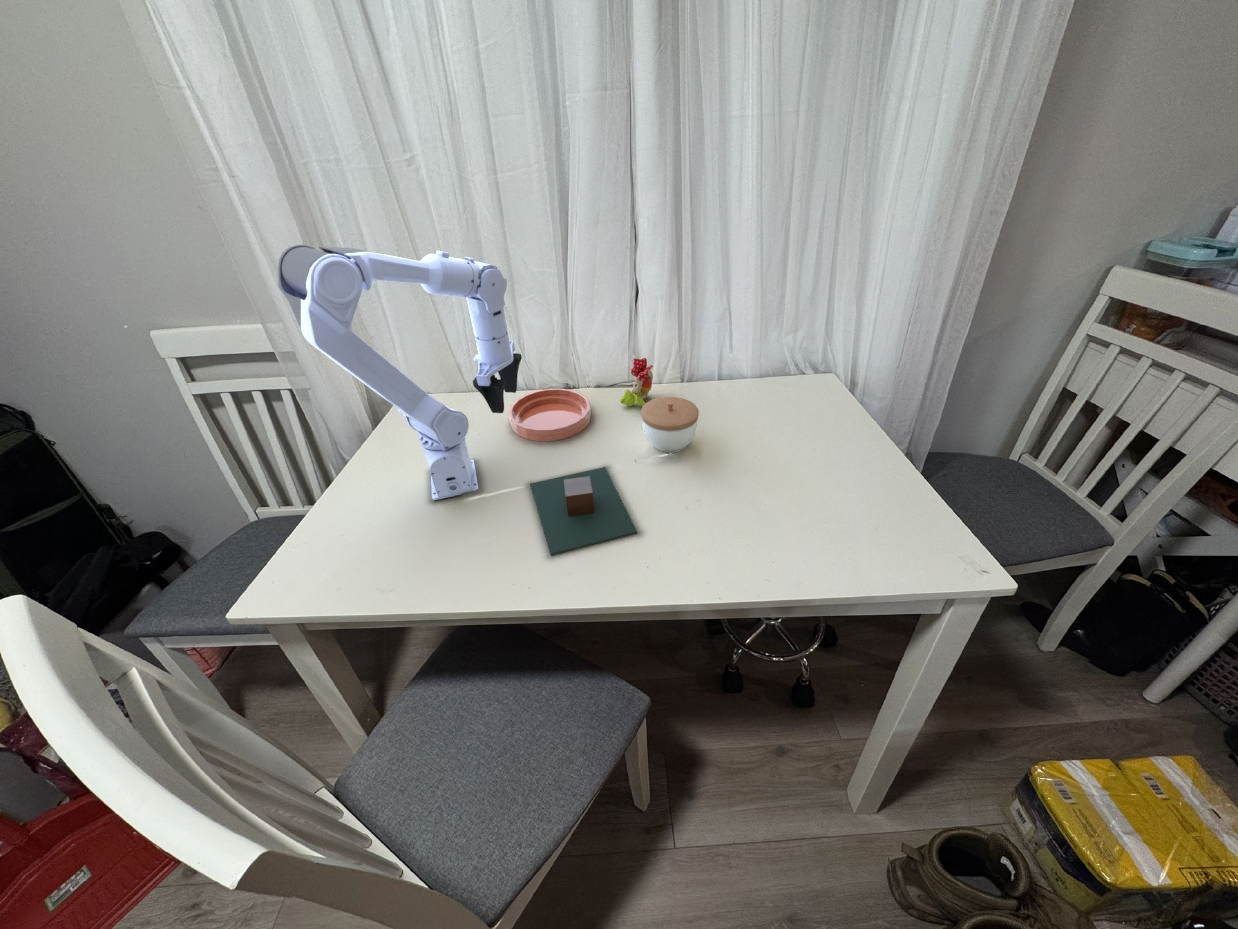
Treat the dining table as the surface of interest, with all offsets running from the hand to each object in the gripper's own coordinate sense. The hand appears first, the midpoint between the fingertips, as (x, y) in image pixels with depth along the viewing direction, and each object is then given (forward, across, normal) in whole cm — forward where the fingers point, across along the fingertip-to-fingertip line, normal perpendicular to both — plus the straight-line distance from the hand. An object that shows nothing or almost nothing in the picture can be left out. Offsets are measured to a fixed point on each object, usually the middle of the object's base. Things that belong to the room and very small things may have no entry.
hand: (504, 401), depth 98 cm
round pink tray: (+9, -8, +6) cm, 14 cm away
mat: (+9, +18, +18) cm, 27 cm away
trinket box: (+10, -2, +31) cm, 33 cm away
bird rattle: (+10, -17, +24) cm, 31 cm away
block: (+9, +18, +18) cm, 27 cm away
